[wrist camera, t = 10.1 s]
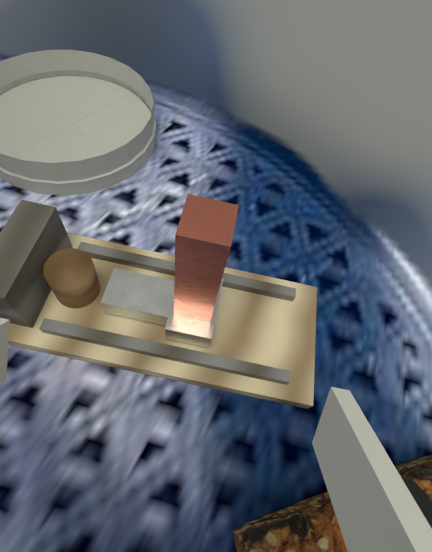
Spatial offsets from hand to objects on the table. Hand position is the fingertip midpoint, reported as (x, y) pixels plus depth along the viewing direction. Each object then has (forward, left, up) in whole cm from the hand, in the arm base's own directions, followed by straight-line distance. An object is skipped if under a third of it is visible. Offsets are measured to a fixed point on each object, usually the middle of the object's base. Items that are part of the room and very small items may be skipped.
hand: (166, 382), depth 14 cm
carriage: (-10, +1, -15) cm, 19 cm away
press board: (-10, +1, -17) cm, 20 cm away
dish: (-38, -6, -18) cm, 43 cm away
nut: (-14, -6, -16) cm, 22 cm away
